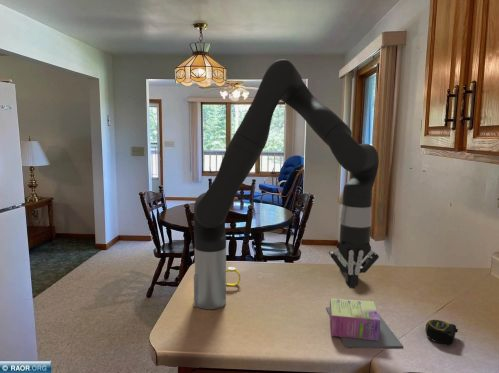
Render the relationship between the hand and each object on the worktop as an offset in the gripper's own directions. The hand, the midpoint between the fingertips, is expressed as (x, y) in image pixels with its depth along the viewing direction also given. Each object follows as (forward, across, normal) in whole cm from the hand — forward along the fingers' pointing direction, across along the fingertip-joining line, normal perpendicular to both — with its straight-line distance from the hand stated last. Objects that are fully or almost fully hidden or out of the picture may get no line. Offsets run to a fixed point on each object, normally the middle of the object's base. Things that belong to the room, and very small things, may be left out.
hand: (351, 287), depth 98 cm
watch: (+12, -32, +27) cm, 43 cm away
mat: (+11, +3, 0) cm, 12 cm away
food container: (+11, +11, +35) cm, 39 cm away
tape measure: (+11, +22, -6) cm, 26 cm away
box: (+8, -6, 0) cm, 10 cm away
